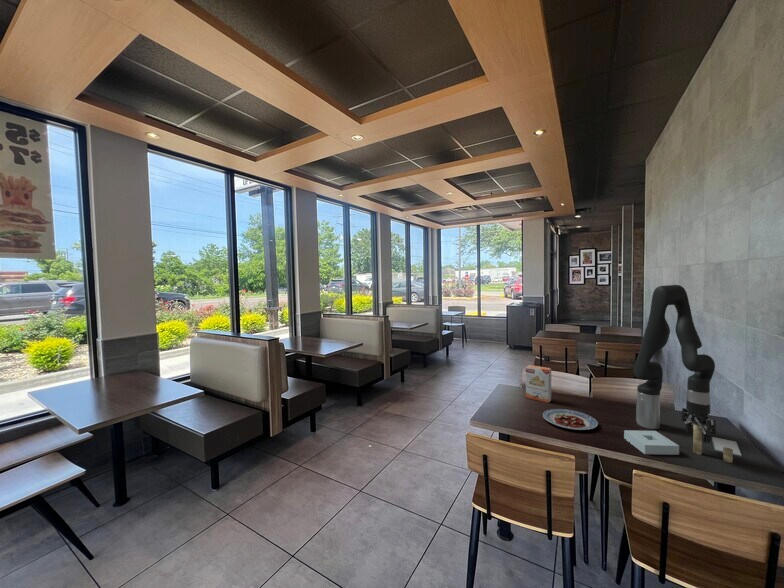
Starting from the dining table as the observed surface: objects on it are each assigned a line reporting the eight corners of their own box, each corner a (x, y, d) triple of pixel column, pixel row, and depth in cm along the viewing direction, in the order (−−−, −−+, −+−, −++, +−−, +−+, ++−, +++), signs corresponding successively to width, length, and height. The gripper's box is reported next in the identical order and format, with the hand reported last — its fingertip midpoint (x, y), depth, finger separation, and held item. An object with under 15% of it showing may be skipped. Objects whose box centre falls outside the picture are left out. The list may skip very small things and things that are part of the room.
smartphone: (714, 449, 143) (711, 436, 155) (714, 451, 143) (711, 438, 155) (742, 455, 138) (736, 441, 149) (742, 458, 138) (736, 443, 149)
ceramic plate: (606, 435, 159) (606, 429, 159) (550, 431, 164) (550, 425, 164) (586, 414, 184) (586, 409, 184) (537, 411, 189) (537, 406, 189)
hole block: (624, 438, 155) (624, 430, 155) (655, 439, 154) (655, 430, 154) (644, 454, 141) (644, 445, 141) (679, 454, 140) (679, 445, 140)
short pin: (721, 458, 137) (721, 447, 136) (728, 459, 136) (728, 447, 136) (727, 462, 134) (727, 450, 134) (734, 462, 134) (734, 450, 133)
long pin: (691, 451, 143) (691, 424, 143) (697, 451, 143) (698, 424, 142) (696, 454, 140) (697, 427, 140) (703, 454, 140) (704, 427, 140)
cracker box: (525, 398, 210) (525, 366, 209) (528, 395, 214) (528, 364, 214) (548, 403, 201) (548, 369, 200) (551, 400, 205) (551, 367, 204)
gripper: (675, 395, 148) (675, 430, 149) (703, 406, 134) (702, 445, 134) (693, 395, 147) (692, 430, 148) (723, 407, 133) (722, 446, 134)
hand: (697, 437), depth 141 cm, fingers open, 8 cm apart
